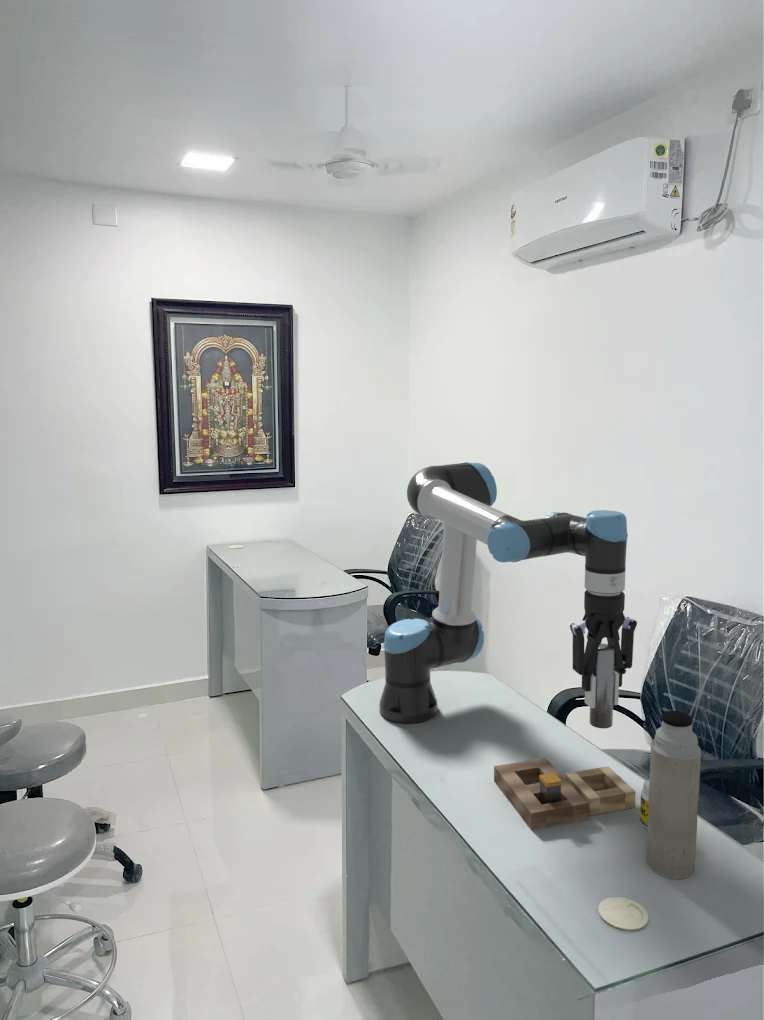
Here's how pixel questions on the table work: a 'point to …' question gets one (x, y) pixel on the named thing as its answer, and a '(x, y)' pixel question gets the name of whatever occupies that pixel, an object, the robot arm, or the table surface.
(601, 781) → the frame
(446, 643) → the robot arm
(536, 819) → the socket block
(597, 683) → the grey metal cylinder
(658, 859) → the thermos bottle
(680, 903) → the table surface
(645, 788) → the supplement bottle
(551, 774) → the key
